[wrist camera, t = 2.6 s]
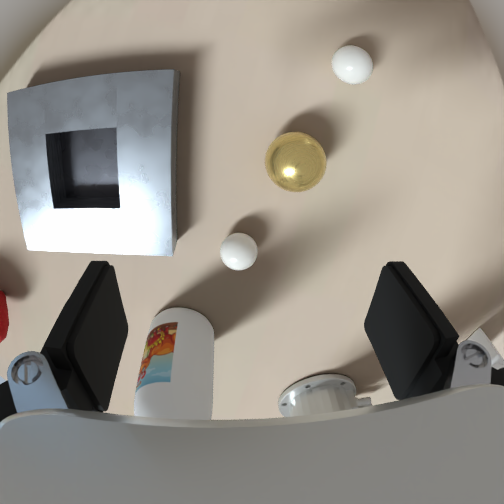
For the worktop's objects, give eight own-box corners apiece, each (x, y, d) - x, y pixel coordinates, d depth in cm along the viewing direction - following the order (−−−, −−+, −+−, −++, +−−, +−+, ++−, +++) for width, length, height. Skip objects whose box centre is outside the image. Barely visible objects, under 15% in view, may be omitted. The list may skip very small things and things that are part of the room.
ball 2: (364, 52, 22) (382, 49, 19) (360, 87, 24) (377, 88, 21) (328, 43, 22) (341, 38, 19) (324, 80, 24) (337, 79, 20)
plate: (180, 71, 22) (173, 69, 20) (177, 240, 30) (172, 256, 28) (24, 90, 21) (7, 92, 18) (40, 236, 29) (27, 249, 26)
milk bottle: (206, 300, 34) (198, 477, 17) (220, 347, 38) (223, 500, 21) (142, 309, 34) (102, 471, 17) (162, 353, 38) (143, 498, 21)
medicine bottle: (450, 353, 45) (480, 404, 34) (479, 326, 42) (513, 374, 32) (462, 363, 47) (488, 409, 37) (488, 338, 45) (518, 382, 34)
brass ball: (320, 131, 26) (339, 141, 22) (313, 183, 28) (328, 203, 24) (264, 125, 25) (272, 133, 21) (259, 179, 28) (265, 198, 24)
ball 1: (257, 227, 30) (261, 244, 27) (254, 258, 32) (257, 278, 29) (221, 225, 30) (220, 243, 27) (219, 257, 32) (219, 277, 29)
